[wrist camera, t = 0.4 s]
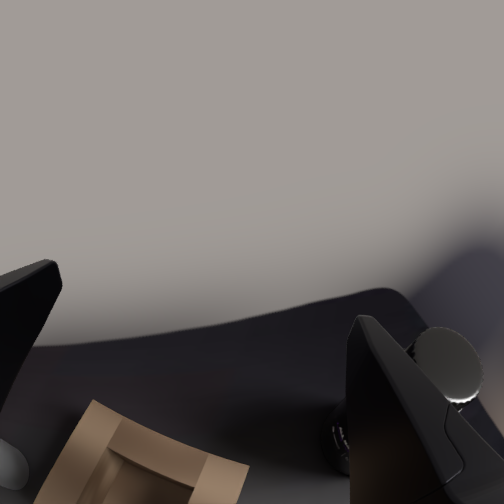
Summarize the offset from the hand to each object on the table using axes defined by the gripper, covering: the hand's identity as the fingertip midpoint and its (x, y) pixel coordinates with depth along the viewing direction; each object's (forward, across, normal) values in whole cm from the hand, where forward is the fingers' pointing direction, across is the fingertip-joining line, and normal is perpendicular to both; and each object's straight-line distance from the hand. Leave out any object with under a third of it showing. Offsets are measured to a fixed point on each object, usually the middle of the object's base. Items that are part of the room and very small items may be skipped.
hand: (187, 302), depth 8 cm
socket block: (-4, +3, +17) cm, 17 cm away
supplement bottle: (+4, -11, +16) cm, 20 cm away
